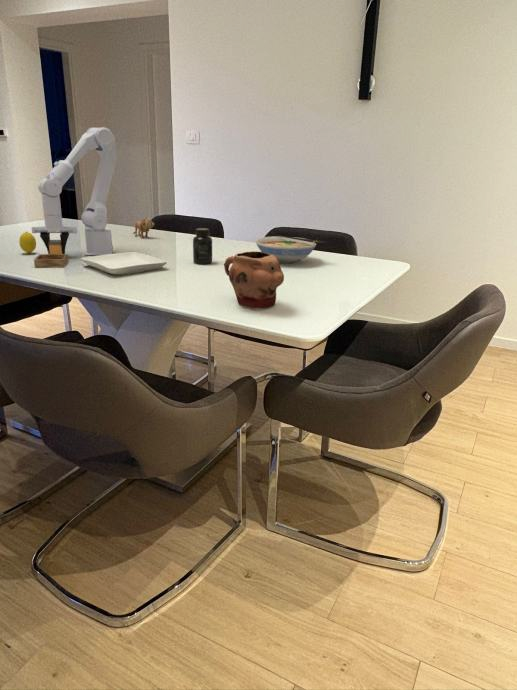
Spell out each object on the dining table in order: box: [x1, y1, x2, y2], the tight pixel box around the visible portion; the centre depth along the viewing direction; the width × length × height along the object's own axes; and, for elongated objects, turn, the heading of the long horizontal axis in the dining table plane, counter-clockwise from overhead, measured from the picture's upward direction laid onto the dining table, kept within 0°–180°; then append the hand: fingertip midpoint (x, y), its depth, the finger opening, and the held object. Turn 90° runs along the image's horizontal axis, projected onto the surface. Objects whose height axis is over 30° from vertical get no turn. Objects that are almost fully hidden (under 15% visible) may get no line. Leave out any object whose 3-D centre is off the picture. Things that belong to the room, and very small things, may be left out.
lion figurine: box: [132, 217, 155, 240], centre depth 228 cm, size 15×5×9 cm, turn 45°
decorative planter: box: [223, 250, 285, 310], centre depth 136 cm, size 20×12×14 cm, turn 55°
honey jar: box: [49, 239, 62, 254], centre depth 182 cm, size 4×4×6 cm
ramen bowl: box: [254, 234, 327, 264], centre depth 191 cm, size 25×23×8 cm
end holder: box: [33, 253, 69, 268], centre depth 173 cm, size 9×9×2 cm
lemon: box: [18, 231, 37, 255], centre depth 186 cm, size 6×6×8 cm
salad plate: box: [80, 251, 168, 276], centre depth 172 cm, size 21×21×3 cm
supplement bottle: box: [192, 227, 213, 265], centre depth 182 cm, size 7×7×12 cm
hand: (56, 253), depth 183 cm, fingers closed on honey jar, 4 cm apart
